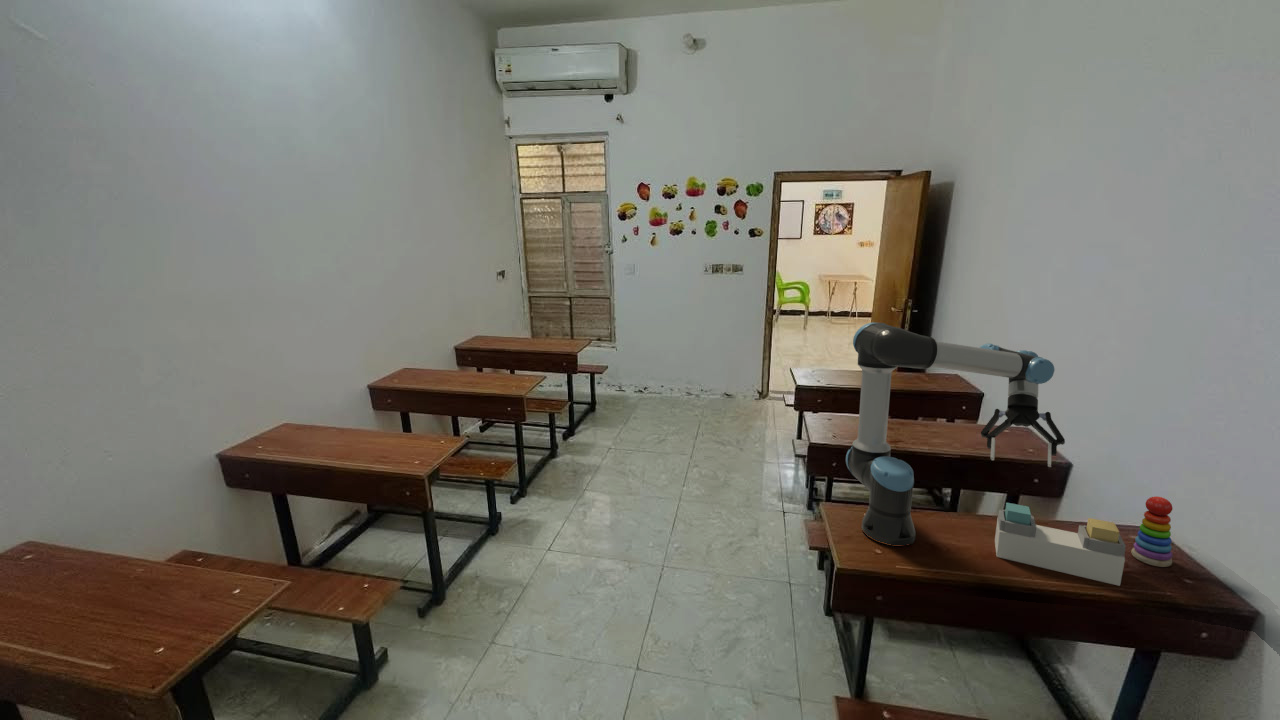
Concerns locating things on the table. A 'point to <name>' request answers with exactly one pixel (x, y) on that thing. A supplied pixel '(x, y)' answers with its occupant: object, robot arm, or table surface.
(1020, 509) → the teal button
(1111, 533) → the mustard button
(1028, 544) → the button console
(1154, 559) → the stacking toy
